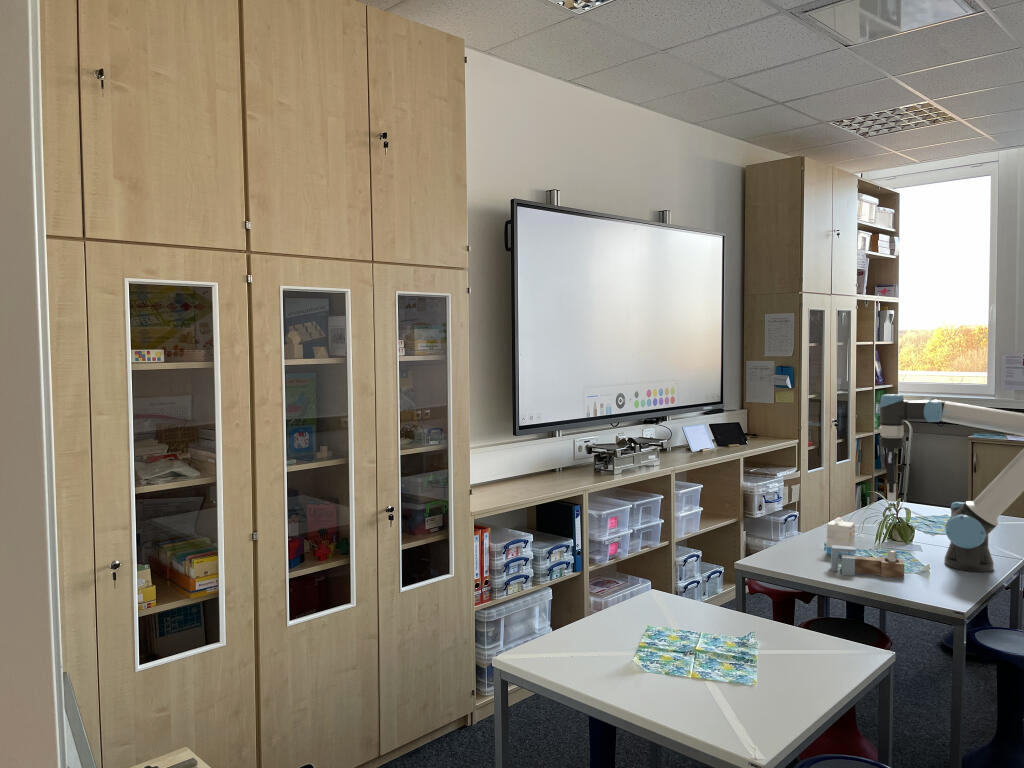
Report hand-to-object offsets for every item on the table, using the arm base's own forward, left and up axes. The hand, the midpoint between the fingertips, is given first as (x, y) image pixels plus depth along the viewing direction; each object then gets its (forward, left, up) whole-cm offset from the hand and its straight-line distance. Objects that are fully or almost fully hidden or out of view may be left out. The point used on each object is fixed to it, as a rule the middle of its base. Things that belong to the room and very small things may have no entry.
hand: (891, 501), depth 270 cm
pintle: (-2, +12, -23) cm, 27 cm away
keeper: (+13, +19, -23) cm, 32 cm away
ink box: (+18, -7, -24) cm, 30 cm away
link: (+4, +15, -23) cm, 28 cm away
